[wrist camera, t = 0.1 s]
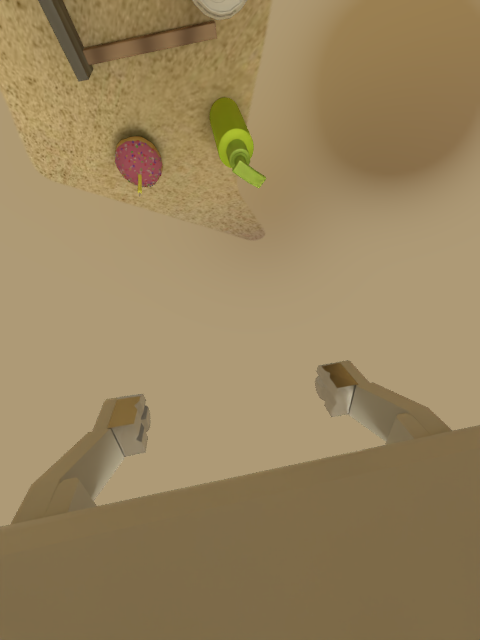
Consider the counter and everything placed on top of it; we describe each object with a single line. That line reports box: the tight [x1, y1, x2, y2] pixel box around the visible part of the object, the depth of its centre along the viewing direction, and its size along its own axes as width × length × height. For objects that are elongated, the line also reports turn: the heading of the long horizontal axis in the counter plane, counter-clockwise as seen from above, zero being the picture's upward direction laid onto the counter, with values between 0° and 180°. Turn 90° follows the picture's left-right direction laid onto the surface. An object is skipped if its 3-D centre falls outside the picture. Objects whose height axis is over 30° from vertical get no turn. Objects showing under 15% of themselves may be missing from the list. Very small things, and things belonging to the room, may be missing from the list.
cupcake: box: [115, 136, 163, 196], centre depth 47 cm, size 9×8×12 cm
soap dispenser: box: [210, 97, 266, 188], centre depth 42 cm, size 6×7×20 cm
